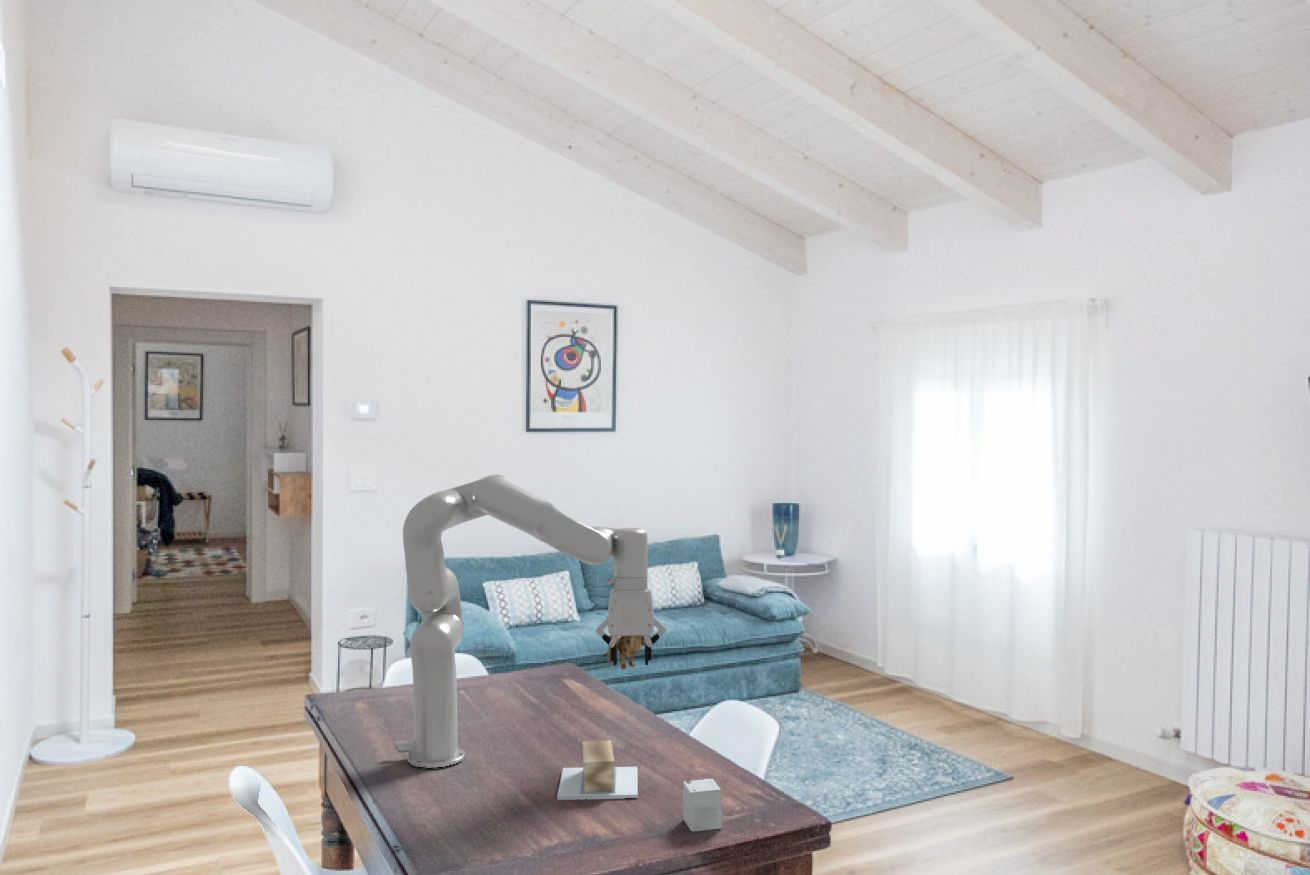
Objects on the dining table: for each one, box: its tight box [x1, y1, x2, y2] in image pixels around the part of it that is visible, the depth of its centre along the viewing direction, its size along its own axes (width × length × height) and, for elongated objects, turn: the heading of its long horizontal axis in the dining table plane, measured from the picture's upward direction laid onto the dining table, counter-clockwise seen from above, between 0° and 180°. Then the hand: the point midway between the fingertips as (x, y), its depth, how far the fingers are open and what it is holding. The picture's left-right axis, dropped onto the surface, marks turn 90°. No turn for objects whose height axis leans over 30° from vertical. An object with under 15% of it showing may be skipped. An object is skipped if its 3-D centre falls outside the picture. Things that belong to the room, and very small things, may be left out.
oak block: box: [582, 739, 615, 792], centre depth 204 cm, size 6×13×6 cm, turn 6°
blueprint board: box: [556, 766, 639, 801], centre depth 204 cm, size 16×16×1 cm
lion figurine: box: [602, 634, 646, 670], centre depth 224 cm, size 15×5×9 cm, turn 38°
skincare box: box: [682, 778, 723, 832], centre depth 184 cm, size 6×6×7 cm
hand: (630, 663), depth 220 cm, fingers closed on lion figurine, 6 cm apart
